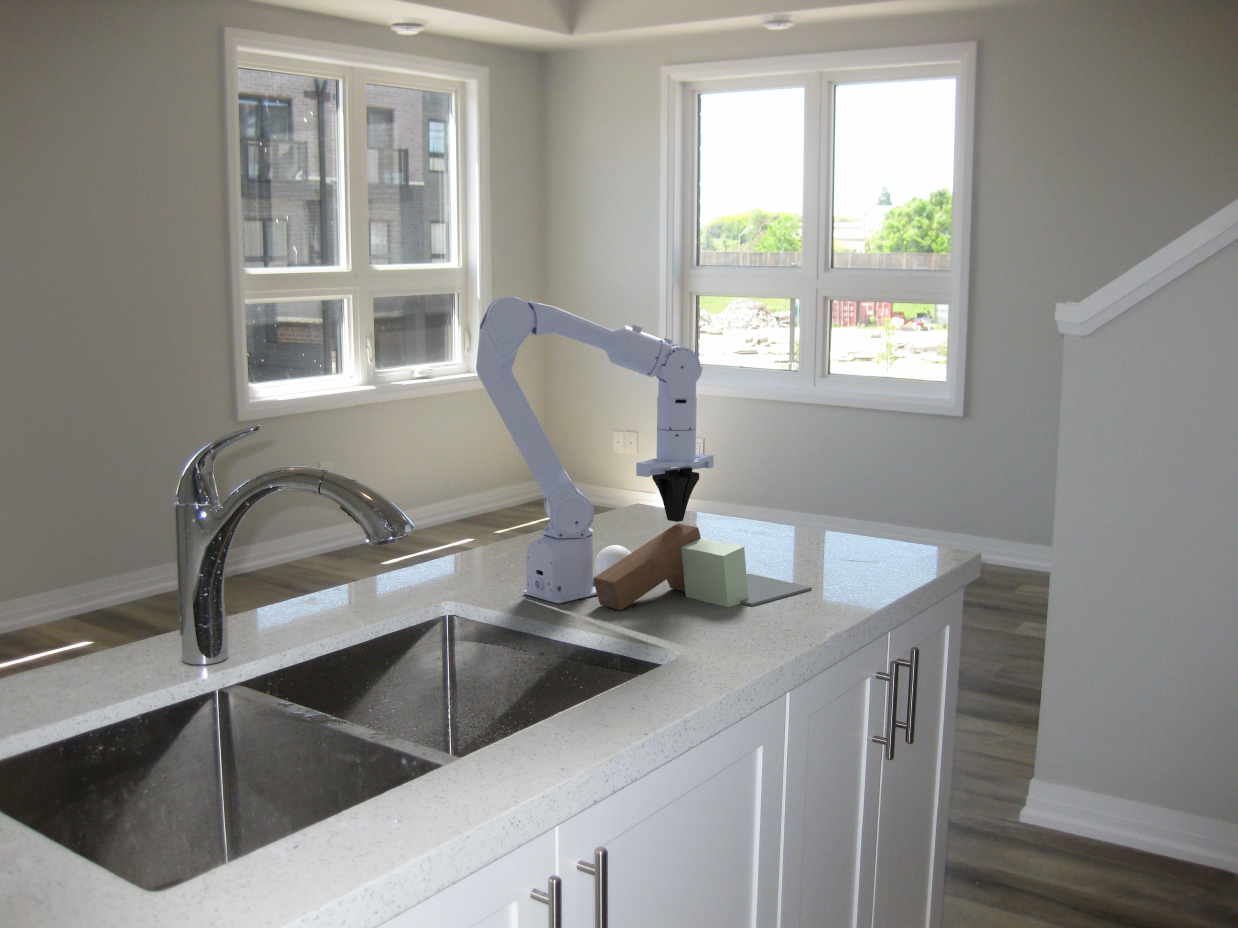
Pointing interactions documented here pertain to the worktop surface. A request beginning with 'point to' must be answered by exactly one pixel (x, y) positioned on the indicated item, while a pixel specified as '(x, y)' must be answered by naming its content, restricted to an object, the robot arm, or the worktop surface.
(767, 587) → the mat
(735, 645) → the worktop surface
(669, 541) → the wooden block
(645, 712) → the worktop surface
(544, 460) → the robot arm
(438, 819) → the worktop surface
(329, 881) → the worktop surface
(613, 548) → the lightbulb
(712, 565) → the sage block
